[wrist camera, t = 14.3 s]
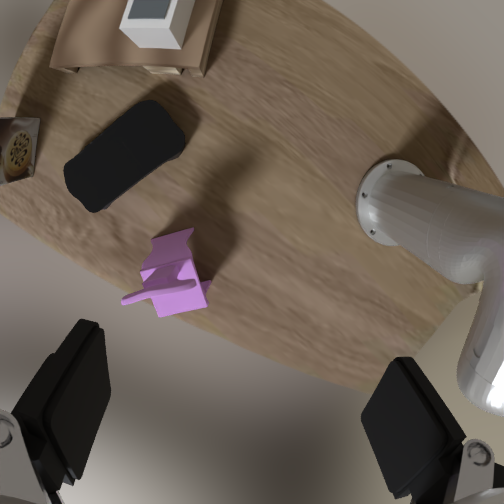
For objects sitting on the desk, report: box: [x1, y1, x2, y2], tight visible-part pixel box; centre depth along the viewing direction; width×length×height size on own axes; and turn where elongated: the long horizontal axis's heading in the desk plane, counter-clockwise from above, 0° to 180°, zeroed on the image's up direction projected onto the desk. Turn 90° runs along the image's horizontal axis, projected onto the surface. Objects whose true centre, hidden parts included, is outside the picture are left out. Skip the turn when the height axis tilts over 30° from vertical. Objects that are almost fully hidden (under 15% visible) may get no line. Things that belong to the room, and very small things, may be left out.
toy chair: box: [121, 227, 211, 317], centre depth 35 cm, size 8×9×15 cm
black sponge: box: [63, 100, 185, 213], centre depth 35 cm, size 16×8×4 cm, turn 121°
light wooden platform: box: [49, 0, 223, 77], centre depth 27 cm, size 20×16×6 cm
